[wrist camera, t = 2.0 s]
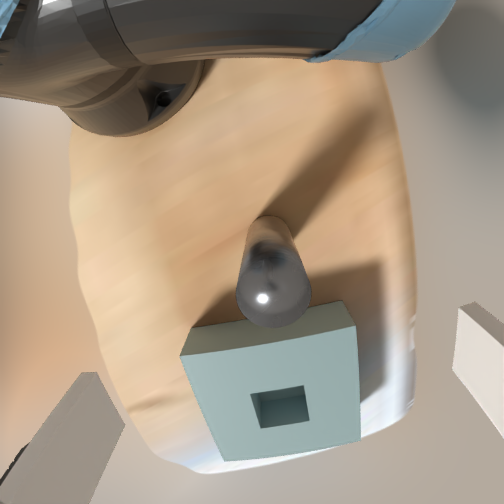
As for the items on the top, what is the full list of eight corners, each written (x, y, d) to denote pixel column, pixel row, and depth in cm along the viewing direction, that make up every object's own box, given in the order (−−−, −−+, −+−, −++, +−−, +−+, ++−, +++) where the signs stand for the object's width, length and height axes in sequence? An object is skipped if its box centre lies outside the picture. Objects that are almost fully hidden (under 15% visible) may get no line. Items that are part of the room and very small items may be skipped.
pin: (248, 214, 30) (236, 256, 17) (291, 216, 30) (314, 260, 17) (246, 256, 31) (235, 326, 18) (288, 257, 31) (307, 328, 18)
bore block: (191, 328, 33) (179, 356, 28) (342, 300, 32) (355, 325, 27) (228, 430, 38) (224, 461, 32) (351, 410, 36) (360, 440, 31)
